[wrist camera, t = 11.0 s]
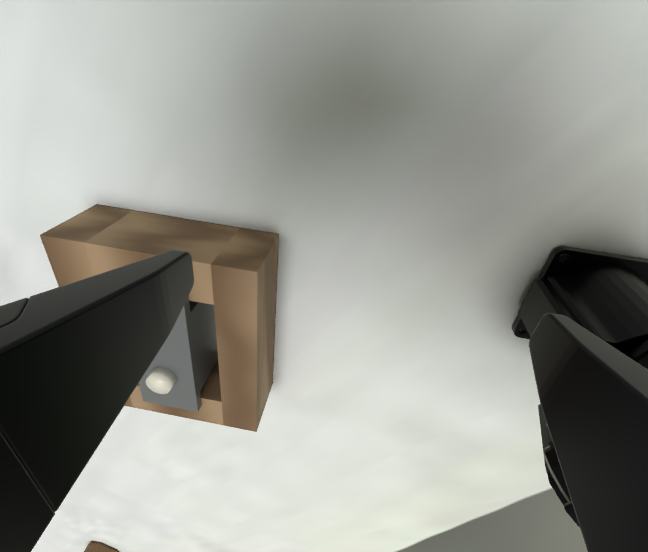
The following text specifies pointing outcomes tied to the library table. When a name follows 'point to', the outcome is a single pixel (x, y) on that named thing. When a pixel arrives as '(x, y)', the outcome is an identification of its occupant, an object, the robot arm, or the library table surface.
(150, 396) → the block
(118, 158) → the library table surface
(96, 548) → the wooden block set
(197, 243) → the pocket plate
